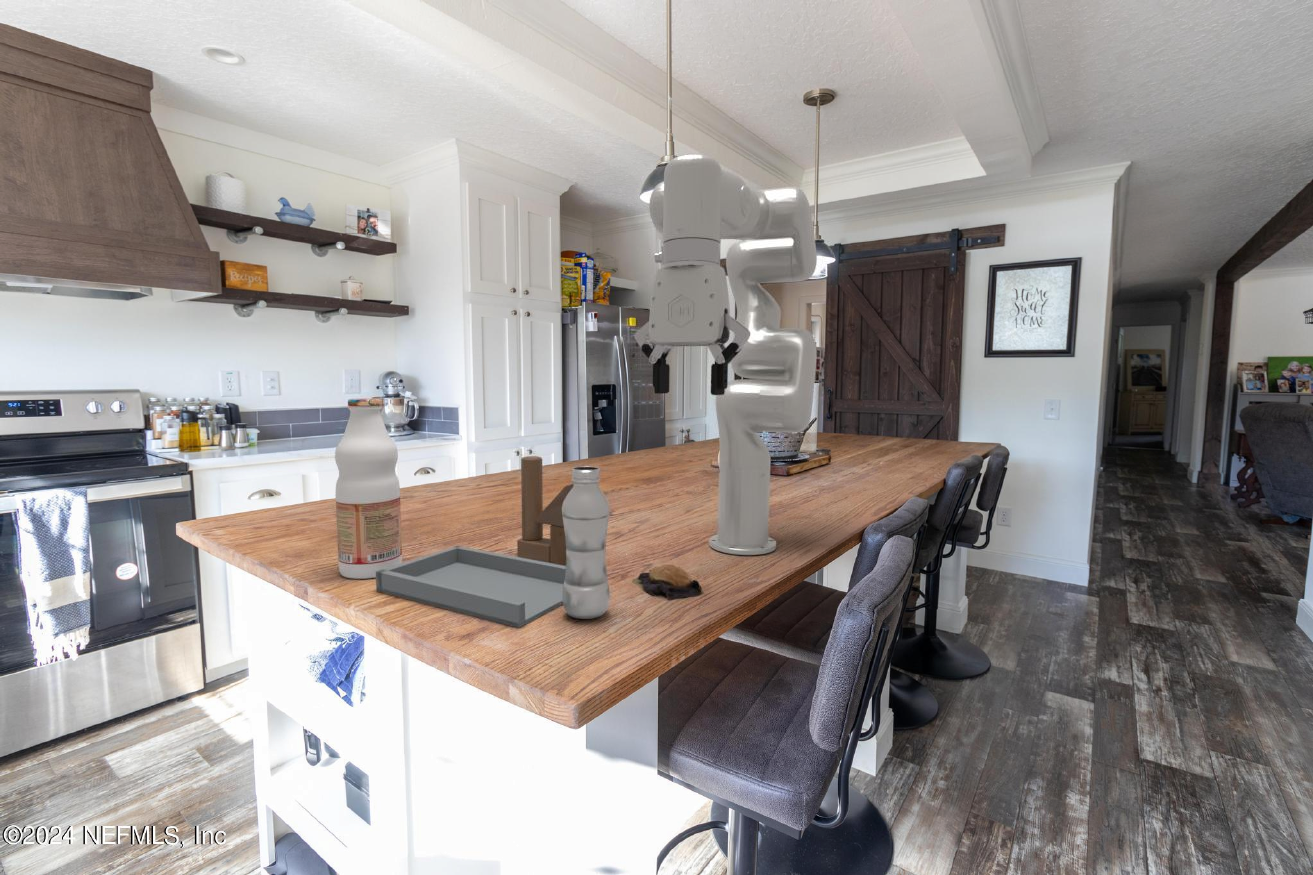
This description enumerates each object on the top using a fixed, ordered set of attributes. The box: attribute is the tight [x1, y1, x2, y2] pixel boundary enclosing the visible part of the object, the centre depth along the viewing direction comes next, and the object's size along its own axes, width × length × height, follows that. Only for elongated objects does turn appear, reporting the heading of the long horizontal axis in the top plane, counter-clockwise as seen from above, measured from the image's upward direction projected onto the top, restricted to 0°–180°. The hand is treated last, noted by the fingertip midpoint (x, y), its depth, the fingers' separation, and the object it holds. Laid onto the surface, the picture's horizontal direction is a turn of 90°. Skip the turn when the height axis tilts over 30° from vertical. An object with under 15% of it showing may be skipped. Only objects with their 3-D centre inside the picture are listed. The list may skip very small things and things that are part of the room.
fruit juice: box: [334, 398, 403, 580], centre depth 99 cm, size 9×9×28 cm
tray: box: [375, 545, 566, 629], centre depth 91 cm, size 16×27×3 cm, turn 62°
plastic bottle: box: [562, 465, 611, 620], centre depth 82 cm, size 6×7×20 cm
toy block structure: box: [516, 455, 574, 566], centre depth 105 cm, size 4×11×18 cm, turn 61°
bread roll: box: [631, 564, 705, 602], centre depth 94 cm, size 11×8×4 cm
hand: (689, 393), depth 82 cm, fingers open, 7 cm apart
